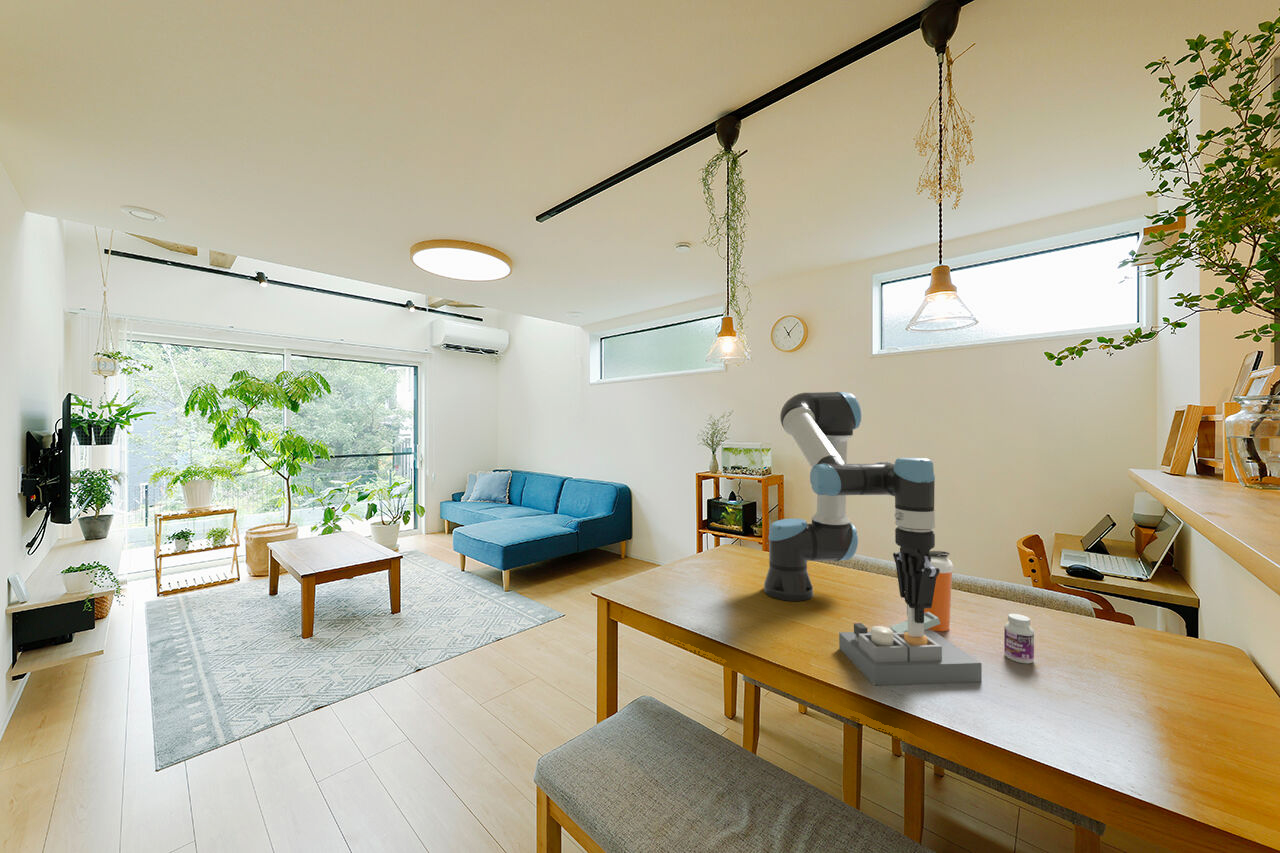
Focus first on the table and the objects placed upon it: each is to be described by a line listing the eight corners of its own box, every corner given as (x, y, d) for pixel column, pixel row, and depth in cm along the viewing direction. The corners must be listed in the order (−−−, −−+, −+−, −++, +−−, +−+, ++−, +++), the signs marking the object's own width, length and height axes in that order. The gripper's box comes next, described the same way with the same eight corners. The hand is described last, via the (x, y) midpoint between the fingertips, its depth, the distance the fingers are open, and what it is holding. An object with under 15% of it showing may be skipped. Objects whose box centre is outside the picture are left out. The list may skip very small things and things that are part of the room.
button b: (900, 645, 106) (899, 631, 106) (919, 644, 106) (918, 631, 106) (912, 654, 101) (911, 640, 101) (931, 654, 101) (931, 640, 101)
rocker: (892, 632, 112) (889, 626, 112) (930, 617, 112) (928, 610, 112) (900, 639, 108) (898, 632, 108) (940, 623, 109) (938, 616, 109)
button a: (867, 639, 105) (867, 626, 105) (886, 639, 105) (886, 625, 105) (877, 649, 101) (877, 635, 101) (897, 648, 101) (897, 634, 101)
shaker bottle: (960, 634, 121) (959, 557, 121) (921, 631, 123) (921, 555, 123) (944, 620, 130) (944, 548, 130) (909, 618, 131) (908, 546, 131)
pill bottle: (1003, 659, 108) (1003, 617, 108) (1005, 650, 112) (1004, 610, 112) (1034, 666, 105) (1033, 623, 105) (1034, 657, 109) (1034, 616, 109)
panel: (839, 648, 114) (839, 620, 114) (931, 646, 115) (931, 617, 115) (874, 685, 98) (874, 651, 98) (981, 681, 99) (981, 648, 99)
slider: (853, 633, 111) (853, 623, 111) (861, 633, 111) (861, 623, 111) (859, 638, 108) (859, 628, 108) (867, 638, 108) (867, 628, 108)
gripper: (881, 522, 110) (882, 623, 110) (916, 535, 97) (917, 649, 97) (912, 521, 110) (913, 622, 110) (951, 534, 97) (953, 648, 97)
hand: (915, 635), depth 103 cm, fingers closed
